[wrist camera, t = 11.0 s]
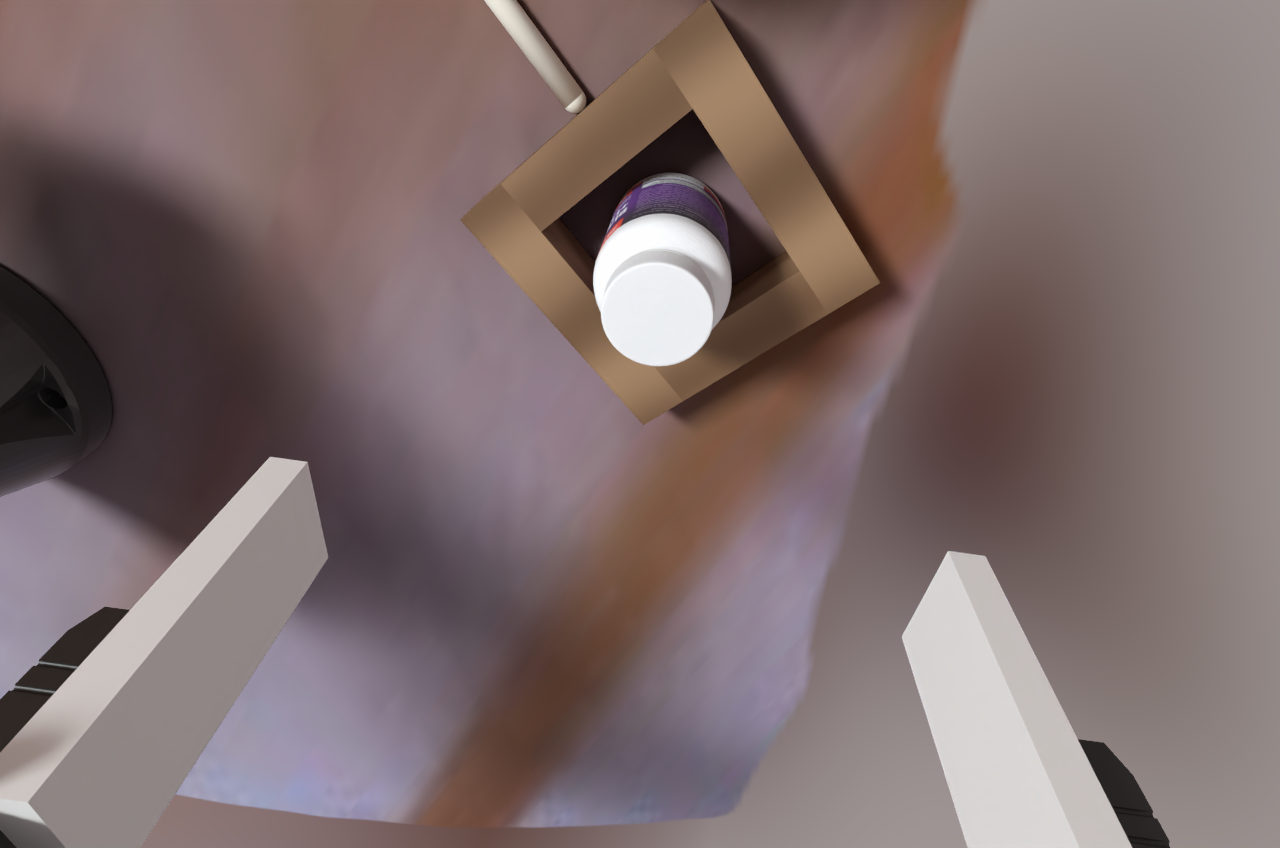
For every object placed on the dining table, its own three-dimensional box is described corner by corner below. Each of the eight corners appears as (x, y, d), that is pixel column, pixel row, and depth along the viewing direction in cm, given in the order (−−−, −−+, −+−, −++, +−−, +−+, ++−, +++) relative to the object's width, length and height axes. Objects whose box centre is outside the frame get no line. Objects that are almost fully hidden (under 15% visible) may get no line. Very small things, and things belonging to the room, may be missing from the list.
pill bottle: (611, 168, 29) (576, 238, 21) (732, 171, 29) (742, 244, 21) (613, 282, 32) (583, 380, 24) (722, 286, 32) (728, 388, 24)
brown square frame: (479, 200, 31) (459, 219, 28) (708, -2, 25) (709, -1, 23) (647, 394, 36) (643, 424, 33) (865, 259, 31) (880, 283, 28)
